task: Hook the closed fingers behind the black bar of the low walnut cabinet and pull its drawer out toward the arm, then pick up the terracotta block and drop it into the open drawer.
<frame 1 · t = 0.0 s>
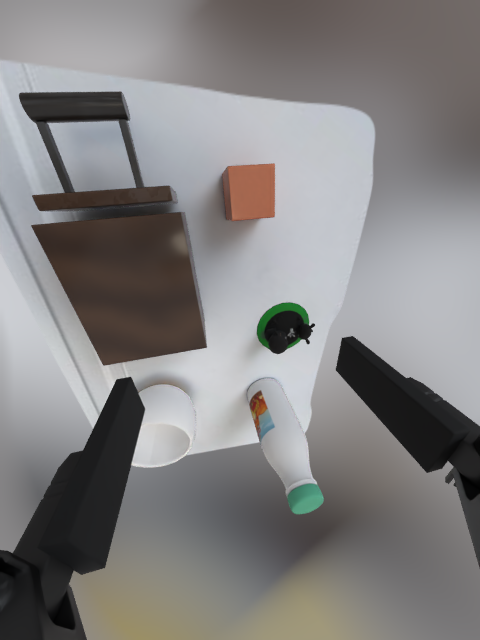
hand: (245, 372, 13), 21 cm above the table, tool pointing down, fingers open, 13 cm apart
drawer: (129, 236, 23), point 4 cm above the table, slide at 1.0 cm
milk bottle: (263, 389, 44), on the table
block: (243, 196, 26), on the table
cup: (163, 395, 40), on the table
toy figurine: (282, 327, 37), on the table
cabinet: (151, 278, 29), on the table
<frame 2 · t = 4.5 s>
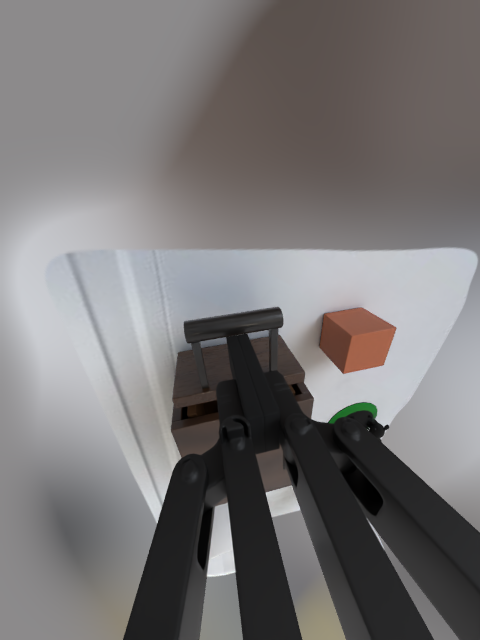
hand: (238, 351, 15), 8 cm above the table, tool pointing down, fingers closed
drawer: (238, 391, 22), point 4 cm above the table, slide at 1.3 cm, touching gripper
block: (339, 328, 26), on the table
cup: (226, 484, 39), on the table
toy figurine: (350, 421, 37), on the table
cabinet: (236, 399, 28), on the table
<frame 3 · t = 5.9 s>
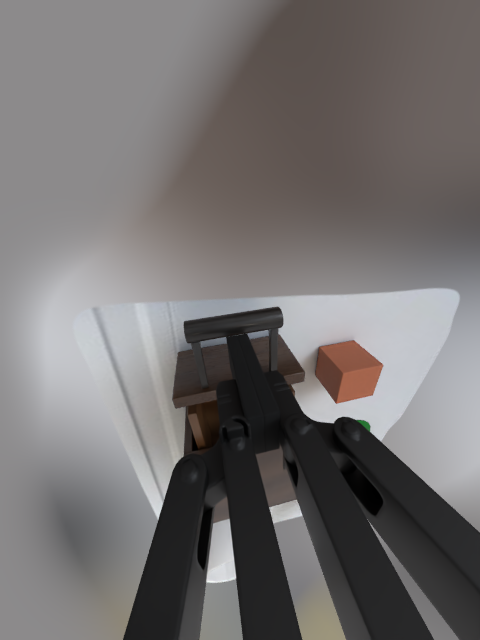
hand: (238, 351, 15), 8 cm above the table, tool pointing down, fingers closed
drawer: (238, 390, 22), point 4 cm above the table, slide at 6.2 cm, touching gripper
block: (333, 358, 28), on the table
cup: (228, 495, 42), on the table
cabinet: (239, 421, 31), on the table
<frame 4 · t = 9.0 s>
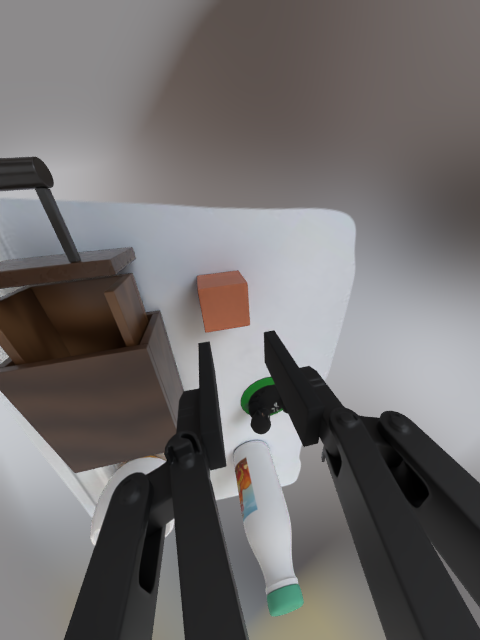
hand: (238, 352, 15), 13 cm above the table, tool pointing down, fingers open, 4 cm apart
drawer: (74, 304, 19), point 4 cm above the table, slide at 6.5 cm
milk bottle: (250, 449, 43), on the table
block: (220, 292, 26), on the table
cup: (147, 463, 39), on the table
toy figurine: (267, 397, 37), on the table
cabinet: (128, 367, 28), on the table
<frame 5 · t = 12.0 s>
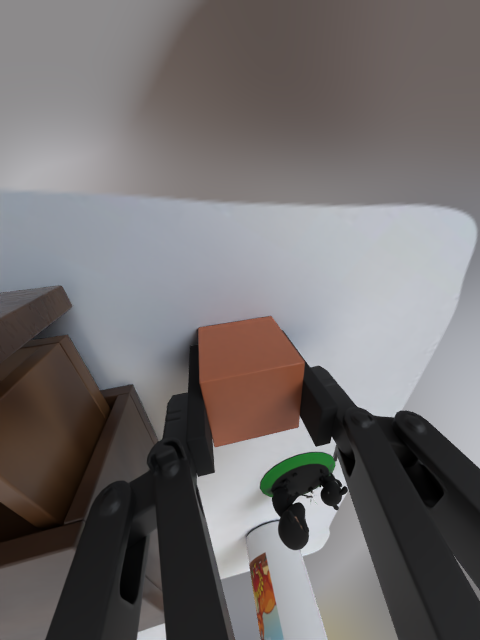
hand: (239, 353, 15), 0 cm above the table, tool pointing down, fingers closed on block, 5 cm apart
milk bottle: (268, 529, 33), on the table
block: (238, 351, 15), on the table, touching gripper
cup: (128, 560, 28), on the table
toy figurine: (297, 474, 26), on the table
cabinet: (85, 465, 17), on the table
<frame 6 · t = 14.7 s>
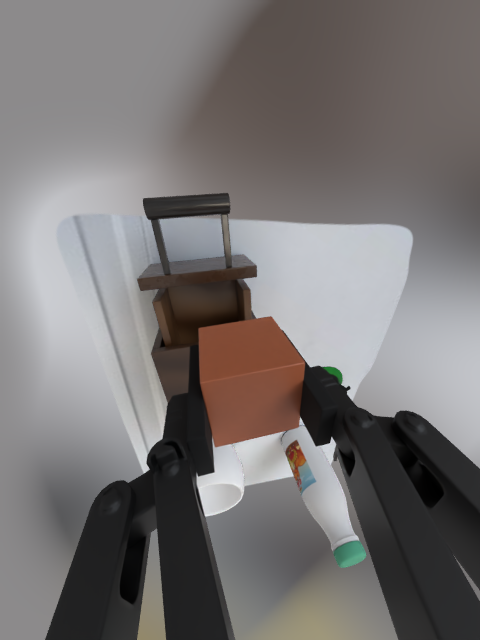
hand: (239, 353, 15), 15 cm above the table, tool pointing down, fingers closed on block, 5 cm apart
drawer: (204, 299, 24), point 4 cm above the table, slide at 6.5 cm
milk bottle: (296, 434, 48), on the table
block: (238, 351, 15), point 15 cm above the table, touching gripper
cup: (208, 444, 44), on the table
toy figurine: (319, 385, 42), on the table
cabinet: (213, 355, 33), on the table
when the fingers open (8 cm above the table, at t = 17.3 s): block drops 5 cm, resting on drawer.
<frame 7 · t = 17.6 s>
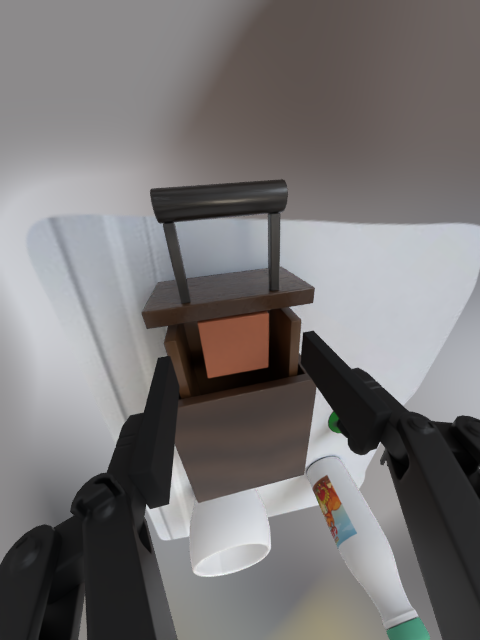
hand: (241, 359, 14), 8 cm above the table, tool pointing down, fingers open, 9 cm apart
drawer: (231, 329, 18), point 4 cm above the table, slide at 6.5 cm, touching block
milk bottle: (322, 465, 42), on the table
block: (227, 317, 20), point 2 cm above the table, touching drawer
cup: (224, 480, 37), on the table
toy figurine: (354, 413, 35), on the table
cabinet: (235, 387, 27), on the table
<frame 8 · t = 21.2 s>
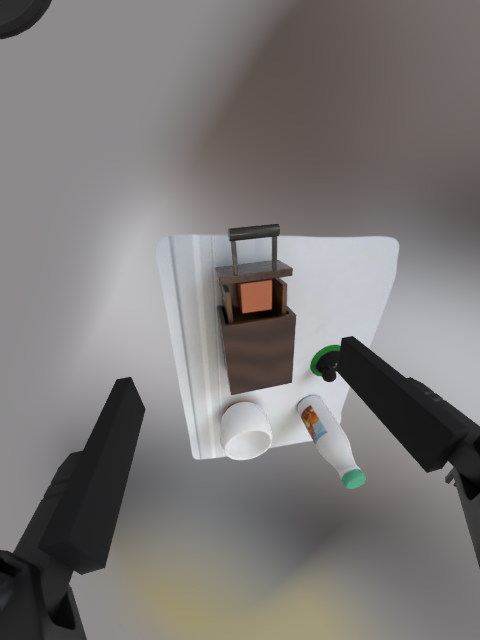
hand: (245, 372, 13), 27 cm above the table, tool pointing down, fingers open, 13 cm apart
drawer: (252, 291, 35), point 4 cm above the table, slide at 6.5 cm, touching block
milk bottle: (308, 403, 59), on the table
block: (249, 287, 37), point 2 cm above the table, touching drawer
cup: (240, 409, 55), on the table
toy figurine: (328, 360, 52), on the table
cabinet: (250, 335, 44), on the table
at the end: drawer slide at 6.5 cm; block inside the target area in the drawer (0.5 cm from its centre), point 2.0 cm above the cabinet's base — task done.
